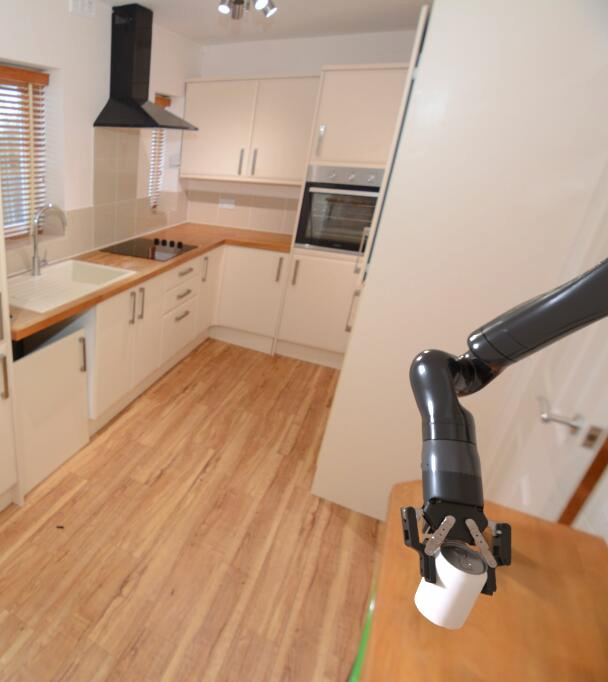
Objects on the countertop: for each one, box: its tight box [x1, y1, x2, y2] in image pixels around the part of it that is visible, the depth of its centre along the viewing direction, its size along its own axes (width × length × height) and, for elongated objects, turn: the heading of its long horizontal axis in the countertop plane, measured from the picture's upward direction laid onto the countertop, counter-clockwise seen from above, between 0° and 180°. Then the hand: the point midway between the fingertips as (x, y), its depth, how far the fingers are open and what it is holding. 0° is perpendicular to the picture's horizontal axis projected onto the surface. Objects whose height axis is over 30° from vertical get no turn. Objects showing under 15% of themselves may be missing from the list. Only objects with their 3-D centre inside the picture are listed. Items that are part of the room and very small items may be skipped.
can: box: [414, 541, 488, 630], centre depth 69 cm, size 6×6×12 cm
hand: (458, 588), depth 67 cm, fingers closed on can, 6 cm apart
